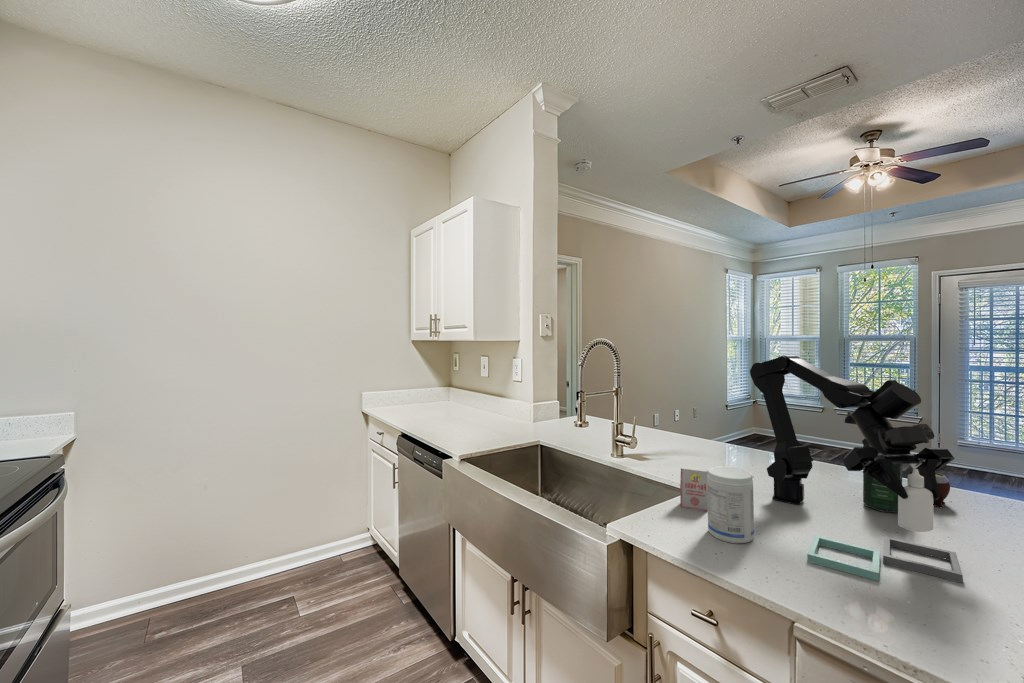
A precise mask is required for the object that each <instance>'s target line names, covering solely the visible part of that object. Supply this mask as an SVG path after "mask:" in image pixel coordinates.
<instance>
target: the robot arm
mask: <svg viewBox="0 0 1024 683" xmlns="http://www.w3.org/2000/svg"><path fill="white" fill-rule="evenodd" d="M749 374H750V377H751V380H752V382H753V384H754V386H755V387H756V388H757V389H758V391H760V392H761V393H762V395H763V396H762V397H763V399H764V403H765V405H766V409H767V414H768V417H769V421H770V423H771V426H772V430H773V434H774V436H775V441H776V445H775V448H774V452H773V456H774V461H773V462H772V463H771V464H770V465H769V466H767V467H766V472H767V476H768V477H770V478H773V495H772V500H775V501H779V502H784V503H788V504H793V505H797V506H798V505H801V503H802V502H804V500H805V484H804V483H802V481H803V480H802V479H807V478H808V476H809V473H810V472H811V470H812V469H813V462H814V459H813V458H812V455H811V451H810V448H809V445H802V444H801V443H800V441H799V440H798V438H797V435H796V432H795V429H794V426H793V422H792V419H791V415H790V412H789V409H788V405H787V403H786V402H787V401H786V398H785V396H784V391H783V389H784V385H785V382H786V379H785V376H787V375H789V374H791V375H793V376H794V377H797V378H798V379H800V380H801V381H803V382H806V383H807V384H809V385H811V386H812V387H814V388H816V389H817V390H819V391H820V392H821V393H822V394H823V397H824V399H826V400H827V401H829V402H830V403H831V404H832V405H833V406H834V407H836V408H839V409H853V408H856V409H854V410H853V411H848V412H847V415H846V417H844V418H845V419H844V423H845V424H852V425H856V427H857V428H858V429H859V431H860V432H861V434H862V436H863V440H862V441H861V443H862V444H864V445H869V446H870V447H862V446H860V447H859V446H857V447H856V446H855V447H853V448H852V449H851V450H850V451H848V453H847V454H846V455H845V456H844V457H843V465H844V467H845V468H846V470H847V471H848V472H862V473H863V474H867V475H869V476H871V477H872V478H874V479H875V480H877V481H879V482H880V483H882V484H883V485H885V486H886V487H887V488H889V489H890V490H892V491H893V492H894V493H896V494H897V495H899V496H900V497H901V498H903V499H906V498H908V495H907V493H906V491H905V489H904V487H905V486H903V483H902V484H901V482H900V481H899V479H898V477H897V476H896V474H895V472H894V471H893V466H892V463H897V464H902V465H903V464H906V465H907V464H909V466H910V467H911V468H912V471H911V472H909V474H912V472H913V469H918V471H919V474H920V475H921V476H923V477H924V487H923V488H925V489H928V490H930V491H931V492H932V493H933V498H934V499H938V498H940V495H939V490H938V485H937V481H936V474H935V473H936V472H937V471H940V470H941V469H943V468H944V467H946V466H947V465H948V464H949V463H951V462H952V461H954V460H955V457H954V455H953V454H952V453H951V451H950V450H949V449H947V448H944V447H924V448H923V449H922V450H921V451H919V452H917V453H911V451H915V450H916V449H917V448H918V447H917V445H919V444H923V443H924V444H928V443H930V440H934V438H935V433H934V430H933V429H932V428H931V427H930V426H929V424H928V423H918V424H914V425H912V426H907V425H905V426H897V427H894V426H893V425H892V423H891V422H890V420H889V419H891V420H898V419H900V418H901V417H903V416H904V415H905V414H907V413H908V412H911V410H913V409H914V408H915V407H917V406H918V405H920V404H921V403H922V398H921V396H920V395H919V393H918V392H917V391H915V390H913V389H912V388H910V387H909V386H907V385H904V384H901V383H900V382H898V380H896V379H887V380H886V381H885V382H884V383H883V384H882V385H881V386H880V387H879V388H877V389H876V390H872V389H870V388H869V387H868V386H867V385H865V384H863V383H861V382H857V381H853V380H850V379H847V378H840V377H838V376H834V375H833V374H831V373H830V372H827V371H825V370H823V369H821V368H819V367H817V366H815V365H814V364H811V363H810V362H808V361H807V360H806V361H805V360H804V359H801V357H800V356H798V355H796V354H791V355H790V354H789V355H787V354H785V355H784V354H782V355H780V356H778V357H776V358H773V359H769V360H765V361H760V362H759V361H758V362H755V363H753V364H752V365H751V368H750V369H749ZM863 464H864V466H863ZM864 467H865V468H866V469H865V470H864V471H863V468H864Z"/></svg>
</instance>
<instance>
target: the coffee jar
mask: <svg viewBox="0 0 1024 683" xmlns="http://www.w3.org/2000/svg"><path fill="white" fill-rule="evenodd" d="M862 444H863V443H862ZM863 447H870V446H869V445H864V444H863ZM862 464H863V463H862ZM863 466H864V464H863ZM892 466H893V471H894V472H895V474H896V476H897V477H898V479H899V481H900V482H901V484H902V485H903V464H897V463H892ZM865 469H866V468H865V467H864V468H863V469H862V472H863V471H864V470H865ZM862 479H863V480H862V481H863V483H862V485H863V486H862V499H863V500H862V502H863V505H865V506H866V507H869V508H871V509H874V510H876V511H879V510H880V512H884V511H886V512H892V513H898V495H897V494H896V493H894V492H893V491H892V490H890V489H889V488H887V487H886V486H885V485H883V484H882V483H880V482H879V481H877V480H875V479H874V478H872V477H871V476H869V475H867V474H863V475H862ZM886 512H885V513H886Z"/></svg>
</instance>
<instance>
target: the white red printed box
mask: <svg viewBox="0 0 1024 683" xmlns="http://www.w3.org/2000/svg"><path fill="white" fill-rule="evenodd" d="M707 475H708V470H699V469H688V468H680V482H679V483H680V486H679V487H680V488H679V491H680V494H679V496H680V499H679V500H680V508H684V509H690V510H697V511H703V512H708V502H707Z"/></svg>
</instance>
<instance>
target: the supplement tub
mask: <svg viewBox="0 0 1024 683" xmlns="http://www.w3.org/2000/svg"><path fill="white" fill-rule="evenodd" d="M707 471H708V475H707V502H708V511H707V529H708V532H709V534H710V535H711V536H713V537H715V538H716V539H717V540H720V541H723V542H726V543H730V544H731V543H732V544H747V543H749V542H751V541H752V540H753V539H754V537H755V520H754V519H755V518H754V517H755V514H754V513H755V512H754V507H755V506H754V480H753V474H752V473H751V472H750V471H748V470H745V469H743V468H740V467H734V466H725V465H721V466H720V465H719V466H711V467H709V468H708V469H707Z"/></svg>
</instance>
